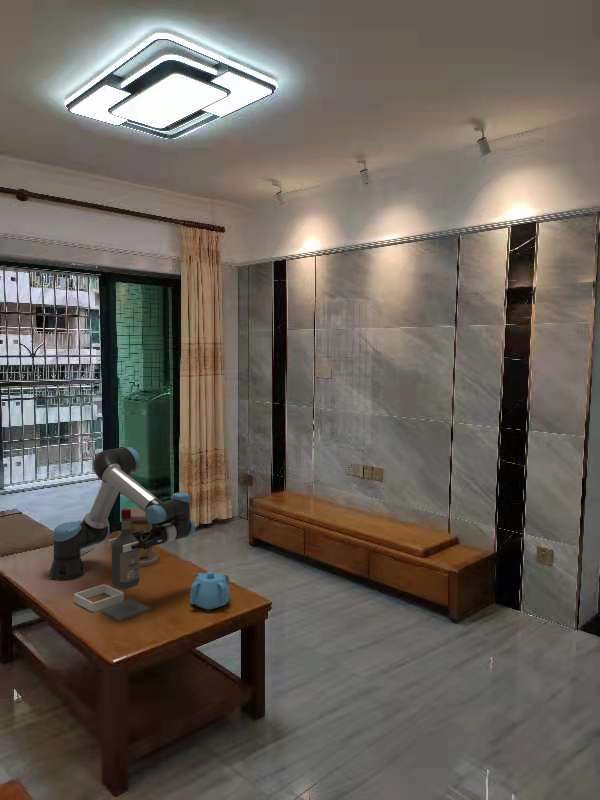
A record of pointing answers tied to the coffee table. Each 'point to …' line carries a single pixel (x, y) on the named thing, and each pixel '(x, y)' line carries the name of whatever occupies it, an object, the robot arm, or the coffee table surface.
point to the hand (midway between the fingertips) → (115, 546)
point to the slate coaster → (125, 610)
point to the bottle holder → (116, 598)
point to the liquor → (125, 556)
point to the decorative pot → (210, 590)
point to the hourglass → (142, 524)
